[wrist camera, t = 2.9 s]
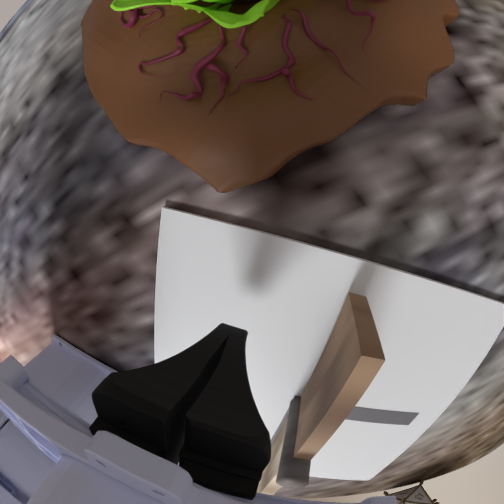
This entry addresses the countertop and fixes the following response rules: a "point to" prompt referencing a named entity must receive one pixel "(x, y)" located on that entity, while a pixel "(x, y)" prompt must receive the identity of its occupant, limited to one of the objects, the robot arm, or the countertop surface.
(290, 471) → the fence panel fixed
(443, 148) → the countertop surface
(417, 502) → the game die
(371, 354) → the brown wooden board
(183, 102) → the plant
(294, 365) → the card
